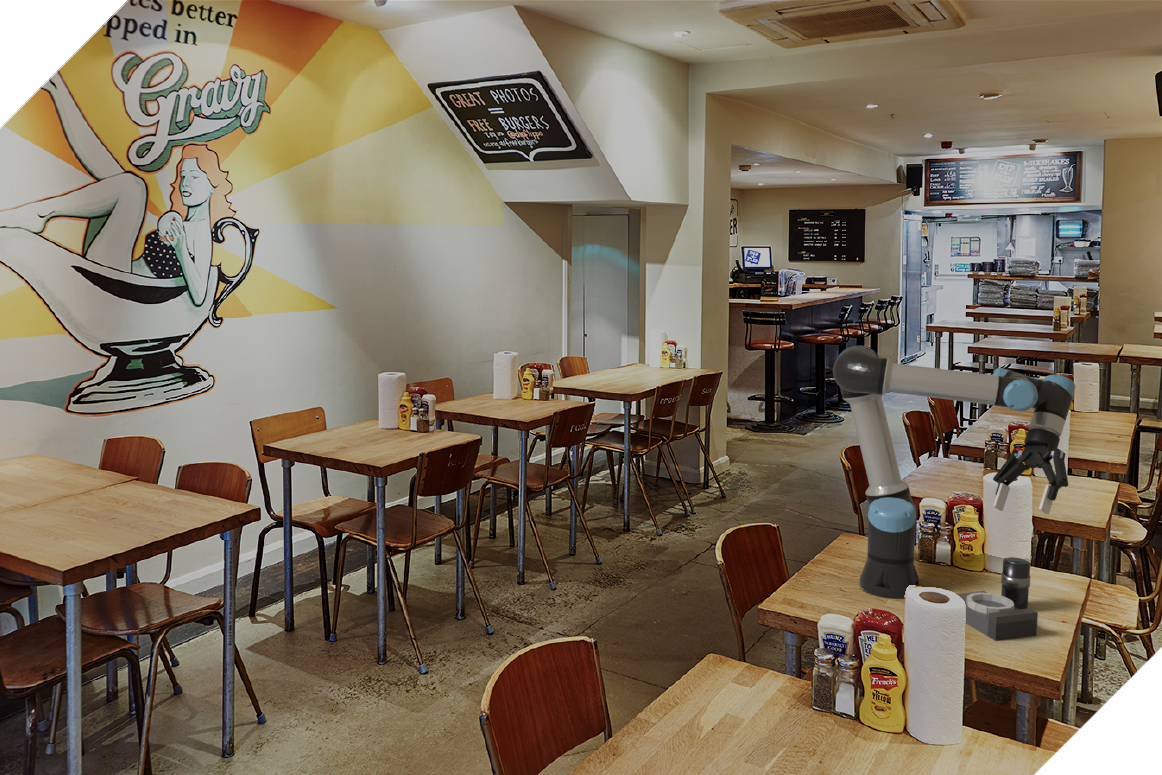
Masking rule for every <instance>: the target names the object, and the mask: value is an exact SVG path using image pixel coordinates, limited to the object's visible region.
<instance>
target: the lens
mask: <svg viewBox="0 0 1162 775" xmlns="http://www.w3.org/2000/svg"><path fill="white" fill-rule="evenodd" d="M1030 574H1031V562H1030V561H1029V560H1027V559H1024V558H1020V557H1014V556H1013V557H1005V558H1003V560H1002V571H1001V577H1000V583H1001V595H1000V596H1004V597H1006V598H1008V599H1010V600H1012V601H1013V603H1014V607H1016V608H1018V609H1027V608H1028V607H1029V592H1030V591H1029V590H1030V586H1031V575H1030Z"/></svg>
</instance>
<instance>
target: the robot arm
mask: <svg viewBox="0 0 1162 775" xmlns="http://www.w3.org/2000/svg"><path fill="white" fill-rule="evenodd" d="M832 374H833V375H832V376H833V378H834V381H835V382H836V384H837V385H838V386H839V389H840V393H841V396H842V400H844V401H846V402H847V403H848V404H849V406H850V410H851V415H852V418H853V424H854V427H855V430H856V435H857V439H858V443H859V447H860V452H861V455H862V460H863V465H864V468H865V473H866V476H867V481H868V485H869V486H868V487H867V489H866V491H865V493H864V494H865V497H866V501H867V506H868V511H867V518H868V527H867V528H868V529H867V530H868V532H867V557H866V561H865V563H864V565H863V568H862V572H861V574H860V575H859V576H860V577H859V587H860V586H861V588H863V589H864V590H865V591H867V592H869V593H871V594H870V595H872V594H873V596H875V595H876V597H880V598H885V599H895V600H899V599H900V600H903V599H904V595H905V591H906V588H907V587H908V586H909V585H916V586H920V587H921V583H920V580H919V576H918V572H917V569H916V566H915V563H914V562H915V540H916V522H917V509H916V505H915V503H914V501H913V499H912V495H911V491H910V486H909V484H908V483H907V482H906V481H905V482H904V481H903V480H902V478H901V474H900V469H899V465H898V461H897V457H896V456H897V455H896V452H895V448H894V444H893V440H892V436H891V432H890V426H889V422H888V418H887V415H886V411H885V407H884V402H883V398H882V397H883V396H884V395H886V394H888V393H896V394H901V395H902V394H903V395H911V396H916V397H917V396H918V397H926V398H934V399H943V400H950V401H958V402H964V403H965V402H966V403H974V404H981V405H988V406H989V405H990V406H996V407H1000V408H1009V409H1011V410H1012V411H1016V412H1024V411H1025V412H1027V411H1029V410H1030V409H1032V408H1033V409H1034V410H1033V414H1032V416H1031V420H1030V422H1029V426H1028V430H1027V432H1026V435H1025V438H1024V448H1023V450H1019V449H1017V448H1013V449H1012V451H1011V453H1010V456H1009V457H1008V459H1006V461H1005V462H1004V463H1003V465H1002V466H1001V467H1000V469H999V470H998V472H997V473H996V474H995V475H994V476H993V478H992V480H993V481H994V482H996V483H997V487H996V492H995V496H996V497H995V499H994V503H993V505H992V507H993V508H996V509H997V510H998V511H1000V512H1002V511H1004V509H1005V505H1006V502H1007V499H1008V496H1009V493H1010V489H1011V487H1010V484H1011V483H1013V482H1014V481H1015V480H1016V479H1017V478H1019V477H1020V475H1021V474H1023V473H1024V472H1026V471H1029V470H1030V469H1036V468H1037V469H1042V471H1043V473H1044V475H1045V477H1046V479H1047V481H1048V484H1045V486H1044V487H1045V488H1044V490H1043V494H1042V497H1041V499H1040V504H1039V508H1038V510H1039V511H1040V512H1042V513H1043V514H1045V515H1050V512H1051V508H1052V506H1053V502H1054V501H1056V500H1057V496H1058V493H1059V490H1060V489H1061V488H1063V487H1064V488H1066V487H1068V486H1069V480H1068V479H1069V478H1068V474H1067V469H1066V463H1065V458H1066V452H1064V451H1062V450H1061V449H1059V448H1058V447H1059V443H1060V441H1061V437H1062V435H1063V431H1064V427H1065V423H1066V421H1067V418H1068V414H1069V412H1070V409H1071V405H1072V402H1073V400H1074V396H1075V391H1076V390H1075V389H1076V385H1075V384H1076V383H1075V382H1074V381H1073V380H1072V379H1071V378H1069V377H1066V376H1063V375H1060V374H1059V375H1057V374H1049V375H1047V376H1045V377H1044V378H1043V379H1038V378H1035V377H1032V376H1029V375H1025V374H1023V373H1019V372H1016V371H1013V370H1012V369H1006V368H1002V367H997V368H996V369H995V370H994V372H993V374H986V373H977V372H971V371H970V372H968V371H961V370H960V371H959V370H953V369H951V370H950V369H945V368H944V369H943V368H937V367H927V366H918V365H912V364H904V363H903V364H901V363H895V362H893V361H892V360H890V358H888V357H887V358H884V357H879V355H878V354H877V353H876V352H875V350H873V349H871V347H868V346H864V345H855V346H854V345H853V346H850V347H847V348H845V349H844V350H843V351H842V352H840V353H839V355H838V357H837V358H836V360H835V361H834V363H833V367H832ZM1052 459H1053V460H1052ZM1051 460H1052V461H1053V465H1052V463H1051ZM1053 466H1054V469H1053ZM1011 485H1012V484H1011ZM861 588H860V589H861ZM864 590H863V591H864ZM865 591H864V592H865ZM867 592H866V593H867ZM869 593H868V594H869ZM904 600H905V599H904Z"/></svg>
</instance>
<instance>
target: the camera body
mask: <svg viewBox="0 0 1162 775" xmlns="http://www.w3.org/2000/svg"><path fill="white" fill-rule="evenodd" d="M956 594H957V595H959V596H960V597H961V598H962V599H963V600H964V601H965V604H966V623H965V624H966V625H968V626H970V627H972V628H974V629H975V630H977V631H978V632H980V633H982V634H984V636H987V637H988V638H990V639H992V640H994V641H1003V640H1011V639H1020V638H1027V637H1034V636H1035V637H1036V636H1037V634H1038V633H1037V632H1038V618H1039V617H1038V615H1039V612H1038V611H1036V610H1034V609H1032V608H1030V607H1029V608H1027V609H1018V608H1016V607H1014V603H1013V601H1012V600H1010V599H1008V598H1006V597H1004V596H1001V595H999V594H996V593H990V592H987V591H985V590H982V591H981V590H979V591H971V592H961V593H956Z"/></svg>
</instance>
